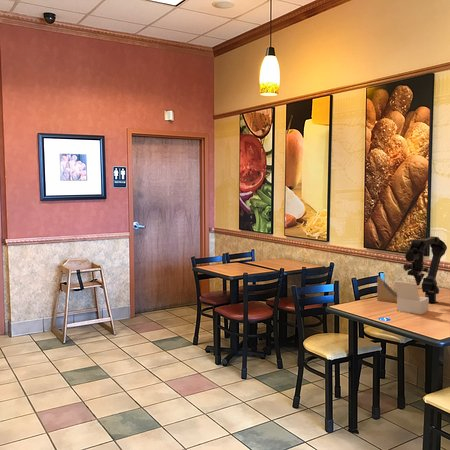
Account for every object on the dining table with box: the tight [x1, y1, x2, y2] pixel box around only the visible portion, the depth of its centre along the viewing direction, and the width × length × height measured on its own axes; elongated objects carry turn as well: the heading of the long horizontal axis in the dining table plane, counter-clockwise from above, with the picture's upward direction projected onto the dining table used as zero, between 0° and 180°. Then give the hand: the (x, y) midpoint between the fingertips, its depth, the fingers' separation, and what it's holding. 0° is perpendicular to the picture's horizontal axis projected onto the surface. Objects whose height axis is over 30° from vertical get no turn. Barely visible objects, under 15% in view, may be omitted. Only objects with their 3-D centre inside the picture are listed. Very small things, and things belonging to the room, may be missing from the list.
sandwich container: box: [376, 276, 398, 303], centre depth 318 cm, size 9×15×15 cm, turn 68°
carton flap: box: [393, 280, 420, 301], centre depth 283 cm, size 12×13×1 cm
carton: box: [396, 295, 430, 316], centre depth 290 cm, size 12×14×8 cm
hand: (417, 285), depth 301 cm, fingers closed
